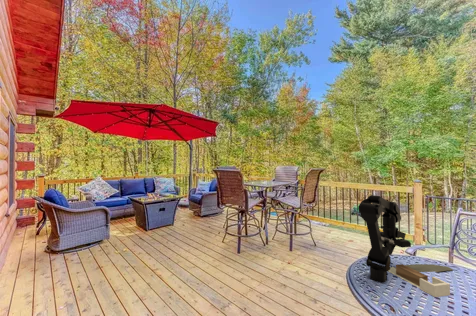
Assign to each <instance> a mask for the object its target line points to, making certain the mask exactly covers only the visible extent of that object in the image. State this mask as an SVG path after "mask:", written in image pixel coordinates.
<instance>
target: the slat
mask: <svg viewBox="0 0 476 316" xmlns="http://www.w3.org/2000/svg"><path fill="white" fill-rule="evenodd" d="M405 265H406V264H403V263H400V264H395V268H396V274H397V275H399V276H401V277H403V278H405V279H406V280H408V281H410V282H412V283H414V284H416V285H418V286H420V280H419V279H420V278H422V279H424V280H426V281H428V282H429V276H428V275H426V274H425V273H423V272H418V271H416V270H414V269H412V268H410V267H407V266H405Z"/></svg>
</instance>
